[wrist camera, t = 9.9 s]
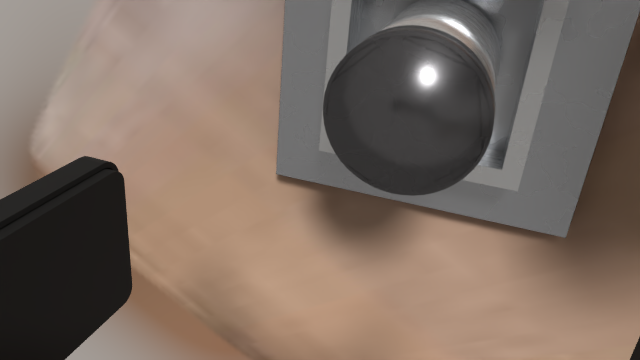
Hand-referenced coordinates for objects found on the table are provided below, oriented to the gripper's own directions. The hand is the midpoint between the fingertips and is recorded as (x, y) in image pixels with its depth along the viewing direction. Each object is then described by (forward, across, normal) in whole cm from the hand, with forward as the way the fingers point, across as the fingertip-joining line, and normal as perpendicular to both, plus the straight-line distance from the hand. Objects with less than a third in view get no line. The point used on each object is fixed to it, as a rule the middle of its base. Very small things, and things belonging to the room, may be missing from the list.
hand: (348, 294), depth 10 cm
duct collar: (+18, +1, 0) cm, 18 cm away
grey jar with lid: (+16, +1, 0) cm, 17 cm away
